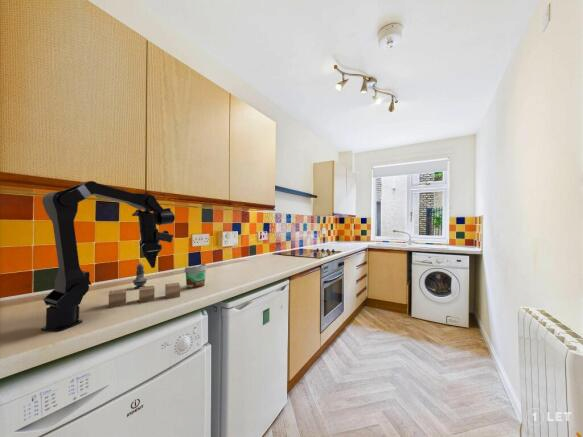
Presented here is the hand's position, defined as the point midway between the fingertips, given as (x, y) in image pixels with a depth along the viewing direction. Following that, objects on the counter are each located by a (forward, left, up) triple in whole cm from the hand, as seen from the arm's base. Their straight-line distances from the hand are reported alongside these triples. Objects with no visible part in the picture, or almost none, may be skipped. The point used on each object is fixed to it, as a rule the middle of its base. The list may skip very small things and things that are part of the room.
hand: (152, 265), depth 94 cm
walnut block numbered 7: (-7, +9, -14) cm, 17 cm away
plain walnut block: (-1, +2, -14) cm, 14 cm away
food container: (+21, -8, -14) cm, 27 cm away
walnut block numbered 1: (+5, -5, -14) cm, 16 cm away
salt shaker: (+16, +19, -14) cm, 28 cm away
